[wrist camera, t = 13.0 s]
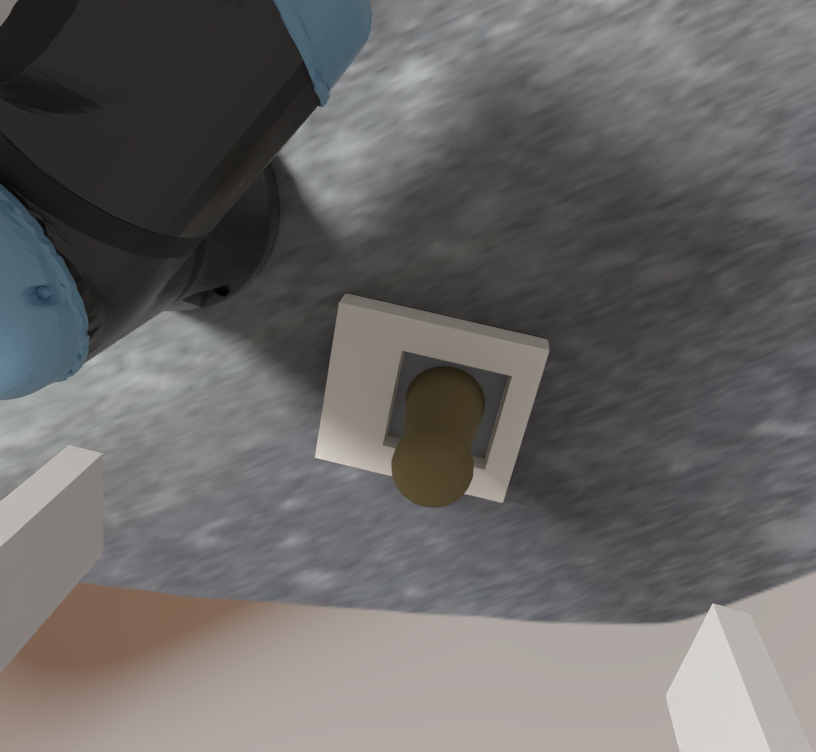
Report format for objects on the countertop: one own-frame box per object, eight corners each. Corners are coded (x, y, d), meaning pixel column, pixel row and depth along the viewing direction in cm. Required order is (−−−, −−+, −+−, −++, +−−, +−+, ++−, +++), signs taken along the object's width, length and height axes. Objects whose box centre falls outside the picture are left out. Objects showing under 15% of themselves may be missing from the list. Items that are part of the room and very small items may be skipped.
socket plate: (322, 443, 54) (314, 457, 52) (345, 293, 49) (338, 301, 47) (503, 487, 53) (502, 503, 51) (547, 339, 48) (549, 350, 46)
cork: (489, 434, 51) (485, 520, 41) (412, 441, 52) (389, 525, 42) (479, 361, 49) (472, 433, 39) (399, 370, 50) (371, 441, 40)
